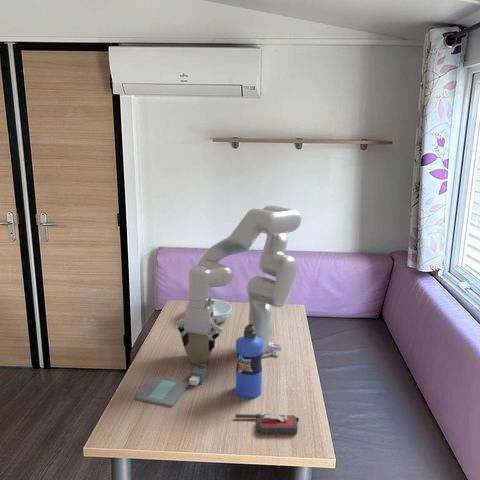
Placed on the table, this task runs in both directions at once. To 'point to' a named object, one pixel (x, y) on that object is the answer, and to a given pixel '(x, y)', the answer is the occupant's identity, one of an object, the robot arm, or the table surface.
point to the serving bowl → (221, 310)
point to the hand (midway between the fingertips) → (198, 347)
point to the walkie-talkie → (274, 423)
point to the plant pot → (198, 346)
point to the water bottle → (249, 364)
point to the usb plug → (198, 374)
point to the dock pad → (162, 391)
